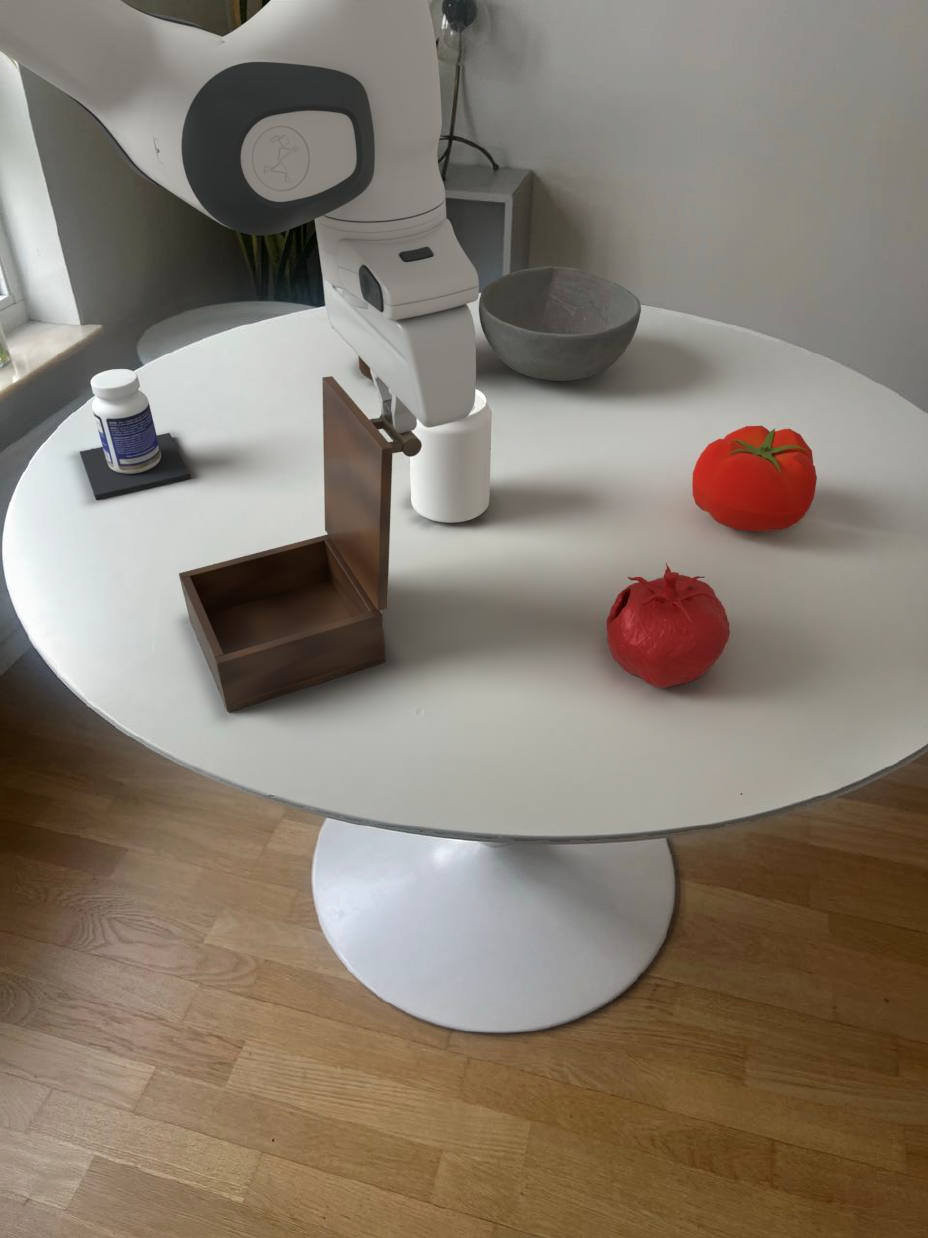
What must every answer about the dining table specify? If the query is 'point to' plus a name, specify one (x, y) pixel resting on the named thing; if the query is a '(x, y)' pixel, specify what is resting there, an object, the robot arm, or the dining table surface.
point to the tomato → (756, 479)
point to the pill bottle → (124, 422)
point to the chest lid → (360, 486)
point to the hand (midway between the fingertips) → (399, 423)
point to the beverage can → (453, 467)
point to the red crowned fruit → (667, 629)
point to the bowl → (558, 322)
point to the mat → (116, 483)
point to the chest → (282, 621)
